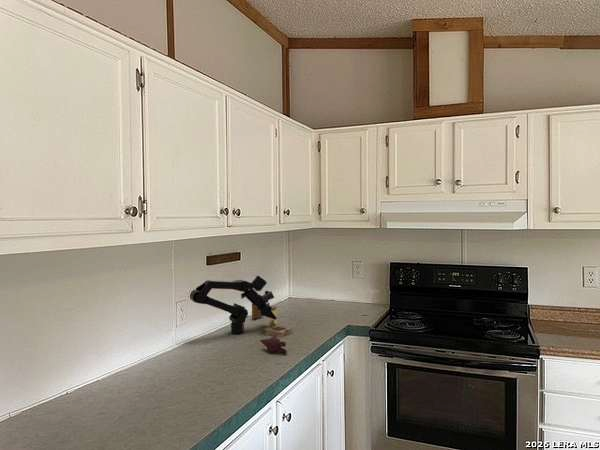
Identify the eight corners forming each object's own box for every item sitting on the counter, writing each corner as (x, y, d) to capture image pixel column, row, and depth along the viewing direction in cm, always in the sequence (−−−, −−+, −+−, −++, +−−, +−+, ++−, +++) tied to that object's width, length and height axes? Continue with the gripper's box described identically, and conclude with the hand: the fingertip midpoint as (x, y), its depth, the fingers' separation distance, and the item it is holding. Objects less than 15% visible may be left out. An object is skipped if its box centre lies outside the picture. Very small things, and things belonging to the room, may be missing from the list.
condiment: (258, 316, 258) (258, 297, 258) (266, 319, 251) (266, 299, 251) (248, 318, 253) (248, 298, 253) (256, 321, 247) (256, 300, 247)
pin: (273, 330, 225) (273, 307, 225) (267, 329, 227) (266, 307, 227) (278, 328, 229) (278, 306, 228) (272, 327, 231) (271, 305, 231)
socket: (281, 338, 212) (281, 332, 212) (265, 335, 217) (265, 329, 217) (292, 333, 220) (292, 327, 220) (276, 330, 226) (276, 325, 225)
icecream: (254, 337, 192) (280, 345, 183) (264, 329, 197) (290, 337, 189) (255, 350, 194) (281, 359, 185) (266, 343, 199) (291, 351, 191)
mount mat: (274, 332, 222) (274, 332, 222) (261, 330, 227) (261, 329, 227) (284, 328, 229) (284, 328, 229) (271, 326, 234) (271, 325, 234)
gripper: (266, 289, 218) (288, 310, 220) (263, 284, 236) (283, 302, 238) (251, 305, 216) (273, 326, 219) (249, 298, 235) (269, 317, 237)
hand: (275, 317), depth 228 cm, fingers open, 7 cm apart
